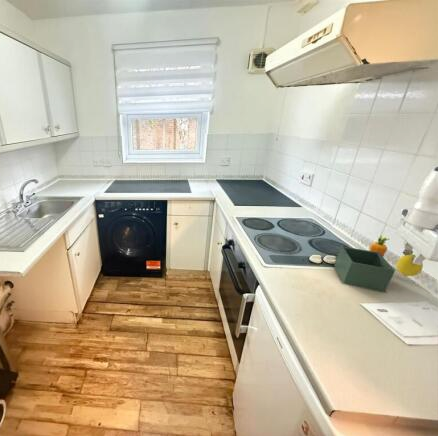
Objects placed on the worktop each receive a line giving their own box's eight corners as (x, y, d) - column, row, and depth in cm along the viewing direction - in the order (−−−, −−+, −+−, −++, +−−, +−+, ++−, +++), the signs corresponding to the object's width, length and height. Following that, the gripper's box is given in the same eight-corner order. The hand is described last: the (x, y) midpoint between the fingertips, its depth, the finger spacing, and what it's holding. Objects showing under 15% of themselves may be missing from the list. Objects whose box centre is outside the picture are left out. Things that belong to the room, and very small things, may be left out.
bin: (370, 272, 99) (378, 252, 96) (384, 292, 88) (395, 270, 84) (333, 265, 104) (340, 246, 100) (343, 283, 93) (351, 262, 89)
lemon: (391, 270, 82) (398, 249, 79) (413, 274, 79) (422, 253, 77) (396, 278, 77) (404, 256, 75) (420, 282, 75) (430, 260, 72)
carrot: (364, 262, 106) (376, 232, 101) (378, 267, 103) (392, 236, 97) (361, 266, 104) (374, 235, 98) (376, 271, 100) (390, 240, 94)
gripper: (471, 235, 61) (445, 279, 66) (424, 209, 78) (407, 246, 83) (437, 231, 63) (415, 274, 69) (399, 207, 80) (384, 243, 86)
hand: (410, 258), depth 76 cm, fingers closed on lemon, 4 cm apart
